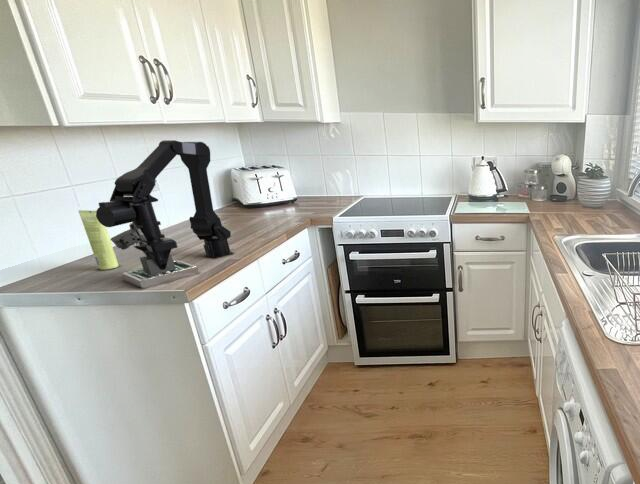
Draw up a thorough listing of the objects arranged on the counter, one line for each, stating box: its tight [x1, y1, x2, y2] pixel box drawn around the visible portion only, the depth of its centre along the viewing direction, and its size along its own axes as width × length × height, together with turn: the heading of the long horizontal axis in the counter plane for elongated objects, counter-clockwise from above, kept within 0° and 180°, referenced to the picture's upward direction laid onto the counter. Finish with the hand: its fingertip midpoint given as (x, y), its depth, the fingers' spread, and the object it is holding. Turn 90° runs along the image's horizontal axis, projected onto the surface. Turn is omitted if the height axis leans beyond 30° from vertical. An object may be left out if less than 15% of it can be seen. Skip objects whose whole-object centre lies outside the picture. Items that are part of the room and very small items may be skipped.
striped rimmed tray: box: [121, 259, 199, 290], centre depth 130 cm, size 15×13×2 cm
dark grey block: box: [139, 253, 176, 276], centre depth 129 cm, size 6×5×5 cm
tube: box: [77, 209, 119, 271], centre depth 135 cm, size 6×5×20 cm
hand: (159, 268), depth 129 cm, fingers closed on dark grey block, 4 cm apart
